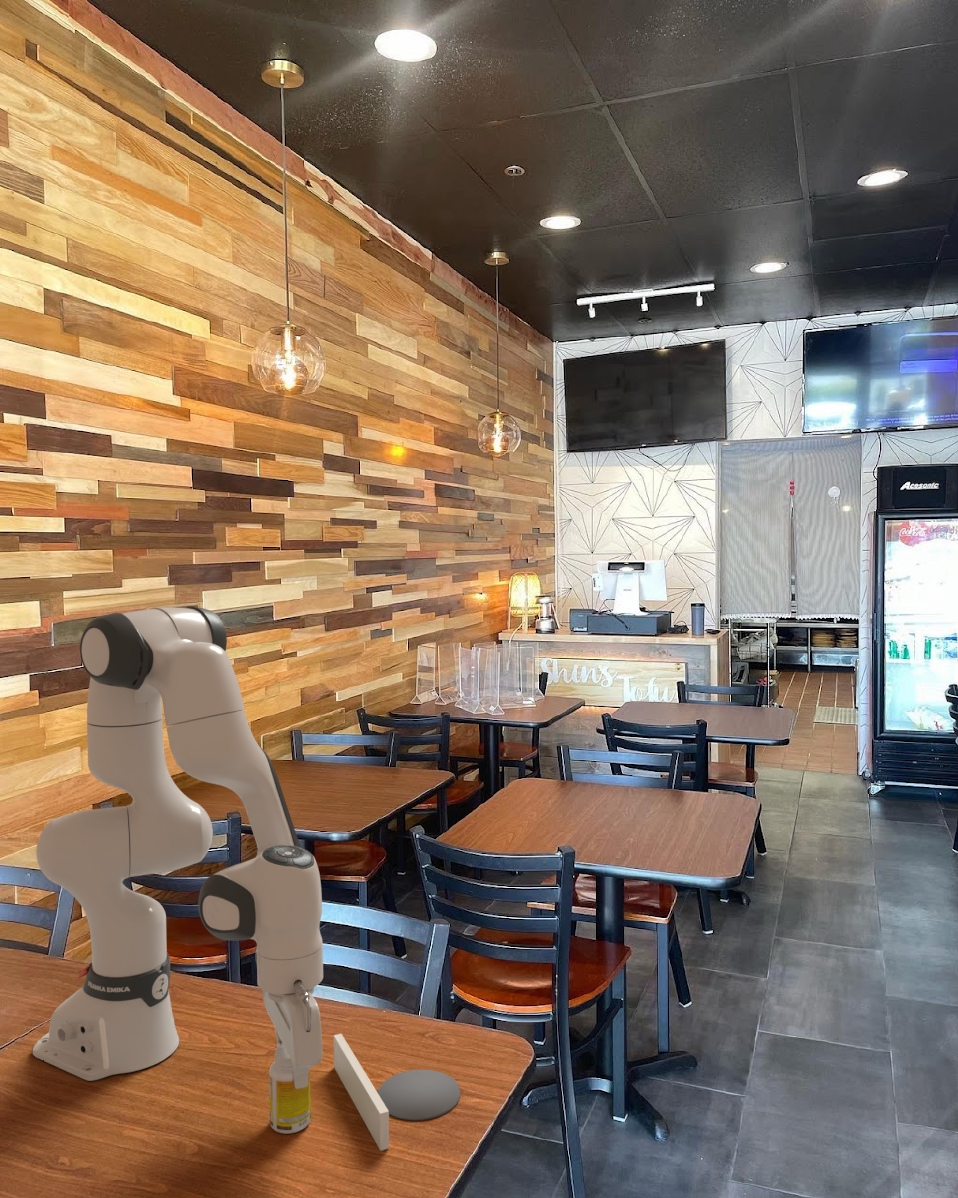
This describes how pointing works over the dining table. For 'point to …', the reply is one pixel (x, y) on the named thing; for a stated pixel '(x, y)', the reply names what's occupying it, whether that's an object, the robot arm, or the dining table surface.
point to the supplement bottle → (287, 1096)
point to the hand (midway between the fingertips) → (292, 1068)
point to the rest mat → (419, 1094)
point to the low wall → (362, 1092)
